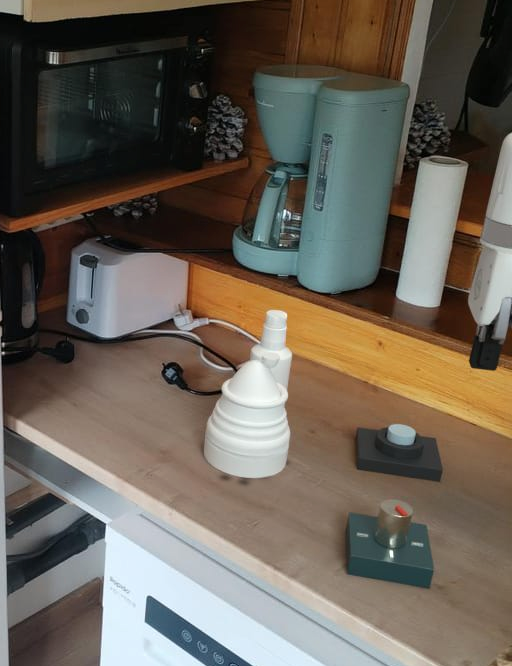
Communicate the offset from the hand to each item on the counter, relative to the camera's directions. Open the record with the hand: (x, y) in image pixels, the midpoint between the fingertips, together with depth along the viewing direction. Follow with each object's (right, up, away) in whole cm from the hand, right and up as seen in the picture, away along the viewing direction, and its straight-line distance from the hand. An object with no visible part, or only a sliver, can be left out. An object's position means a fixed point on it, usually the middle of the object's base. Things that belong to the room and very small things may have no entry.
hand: (482, 366), depth 120 cm
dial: (-13, -23, -1) cm, 26 cm away
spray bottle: (-19, -8, +38) cm, 43 cm away
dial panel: (-13, -25, 0) cm, 28 cm away
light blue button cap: (-2, -11, +21) cm, 24 cm away
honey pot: (-26, -14, +23) cm, 38 cm away
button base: (-2, -15, +23) cm, 27 cm away
